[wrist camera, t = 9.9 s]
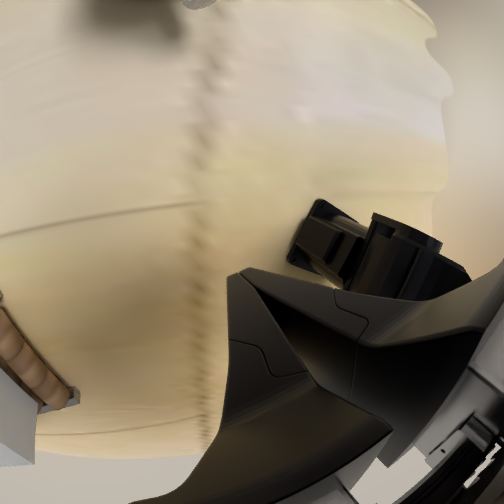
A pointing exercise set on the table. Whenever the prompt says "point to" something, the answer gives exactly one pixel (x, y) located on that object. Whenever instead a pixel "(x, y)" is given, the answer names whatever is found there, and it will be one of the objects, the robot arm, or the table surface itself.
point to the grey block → (16, 424)
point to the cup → (197, 3)
